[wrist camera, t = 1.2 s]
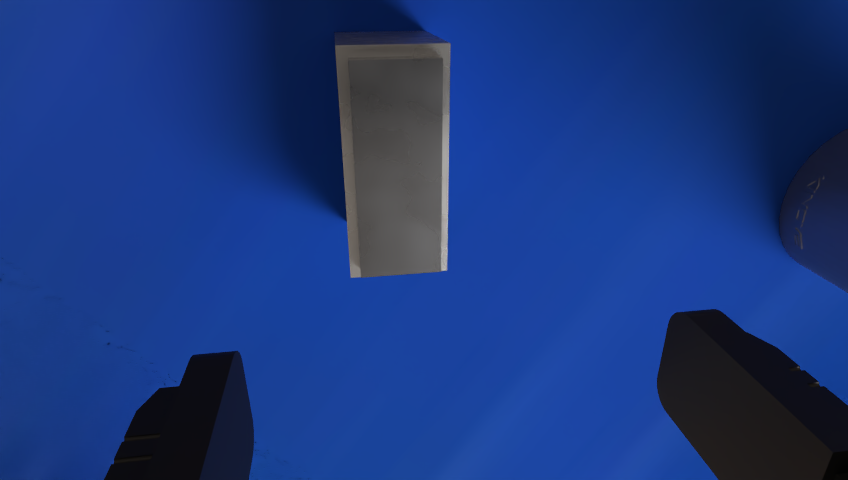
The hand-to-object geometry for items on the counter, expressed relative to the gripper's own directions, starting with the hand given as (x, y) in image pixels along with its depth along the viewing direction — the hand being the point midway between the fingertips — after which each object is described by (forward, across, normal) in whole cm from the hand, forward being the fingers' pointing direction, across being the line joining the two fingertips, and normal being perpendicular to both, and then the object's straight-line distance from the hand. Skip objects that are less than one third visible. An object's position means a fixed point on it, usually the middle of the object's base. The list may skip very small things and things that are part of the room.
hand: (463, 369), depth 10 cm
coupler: (+18, 0, 0) cm, 18 cm away
